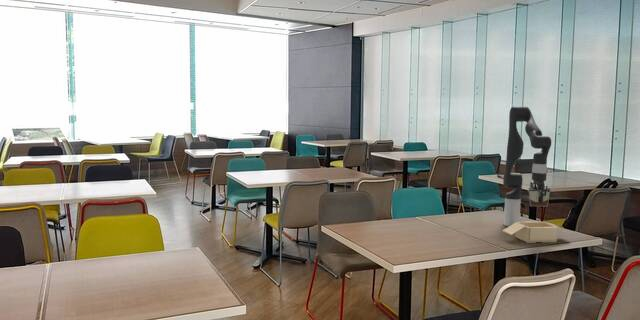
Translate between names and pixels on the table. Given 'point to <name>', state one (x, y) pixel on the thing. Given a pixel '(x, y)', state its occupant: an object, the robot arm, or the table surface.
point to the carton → (537, 232)
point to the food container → (535, 197)
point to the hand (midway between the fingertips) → (537, 201)
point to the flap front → (513, 228)
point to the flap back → (559, 227)
